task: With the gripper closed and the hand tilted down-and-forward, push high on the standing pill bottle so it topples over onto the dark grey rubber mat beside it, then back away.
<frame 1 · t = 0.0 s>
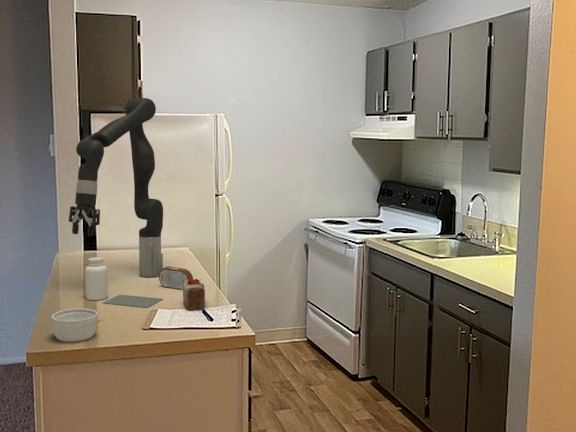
hand: (82, 235, 240), 22 cm above the worktop, tool pointing down, fingers open, 8 cm apart
mat: (133, 301, 232), on the worktop
food item: (194, 306, 228), on the worktop
ramekin: (75, 337, 193), on the worktop
pill bottle: (96, 298, 236), on the worktop
tin: (175, 288, 252), on the worktop
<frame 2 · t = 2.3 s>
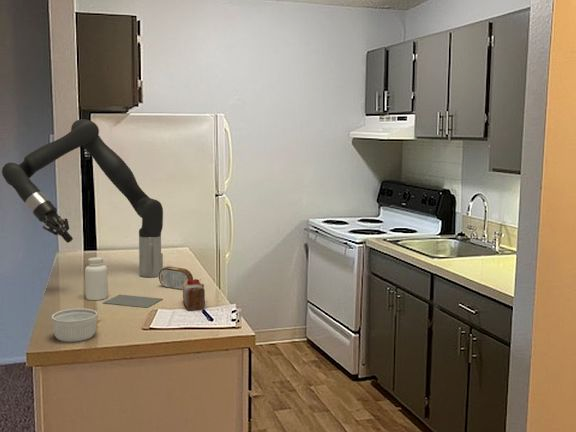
hand: (70, 240, 236), 21 cm above the worktop, tool tilted 45°, fingers closed
nothing on the worktop moved.
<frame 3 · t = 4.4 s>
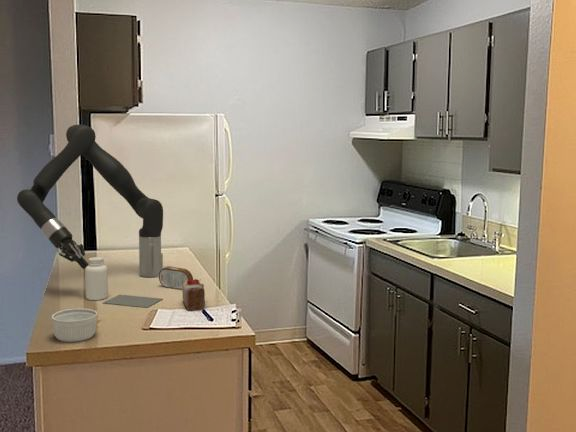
hand: (86, 267, 235), 11 cm above the worktop, tool tilted 45°, fingers closed
pill bottle: (96, 298, 236), on the worktop, touching gripper
everything else where it was.
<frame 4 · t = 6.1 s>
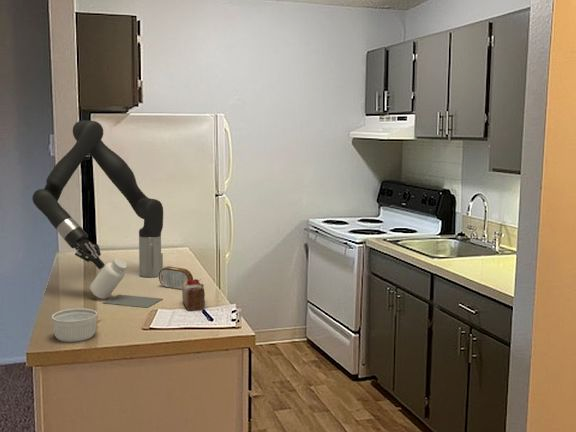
hand: (102, 267, 233), 12 cm above the worktop, tool tilted 45°, fingers closed
pill bottle: (98, 291, 235), point 2 cm above the worktop
everything else where it was.
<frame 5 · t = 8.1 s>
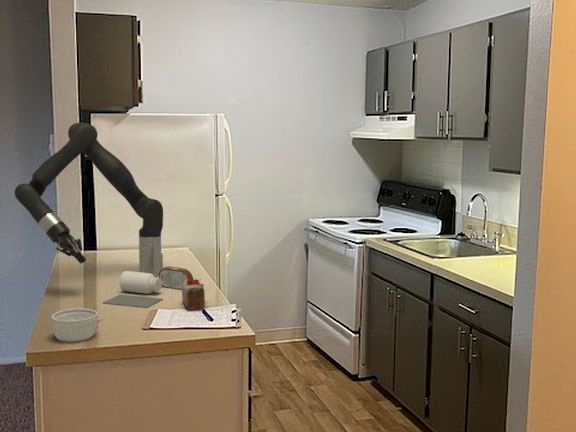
hand: (83, 261, 235), 13 cm above the worktop, tool tilted 45°, fingers closed
pill bottle: (124, 281, 246), point 4 cm above the worktop
everything else where it was.
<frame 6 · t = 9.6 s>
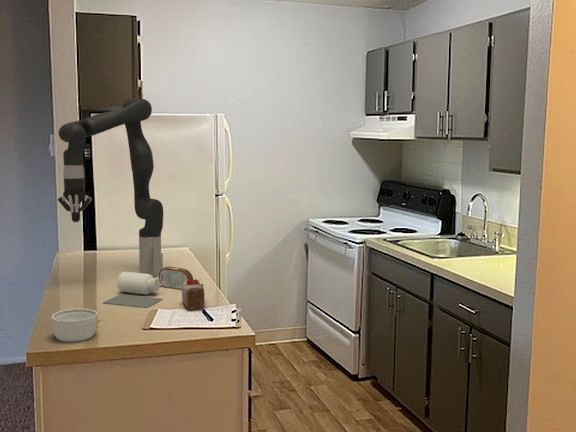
hand: (76, 221, 243), 27 cm above the worktop, tool pointing down, fingers closed
pill bottle: (122, 281, 245), point 4 cm above the worktop
everything else where it was.
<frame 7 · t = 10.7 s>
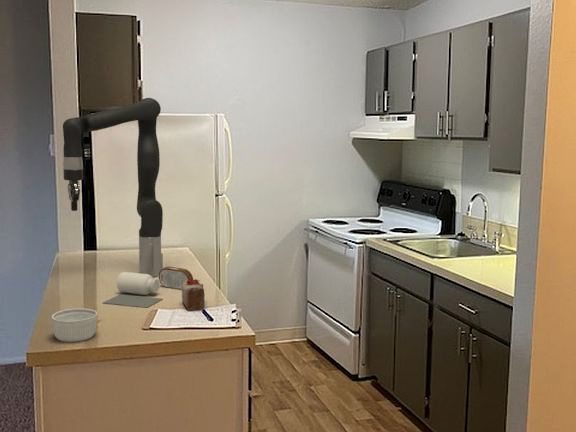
hand: (74, 210, 259), 29 cm above the worktop, tool pointing down, fingers closed
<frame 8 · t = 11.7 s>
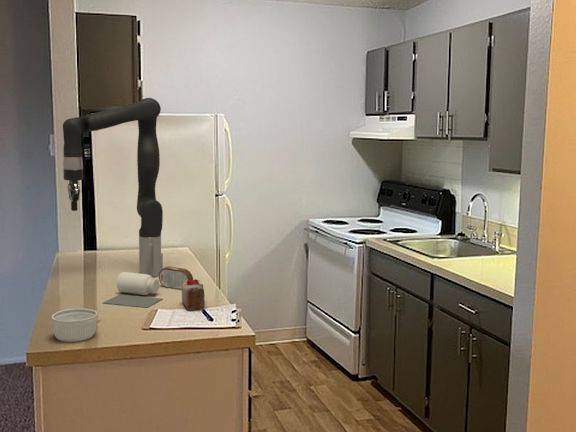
hand: (74, 210, 259), 29 cm above the worktop, tool pointing down, fingers closed
nothing on the worktop moved.
at the end: pill bottle tilted 90°; pill bottle inside the target area (13.7 cm from its centre), point 4.0 cm above the worktop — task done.
